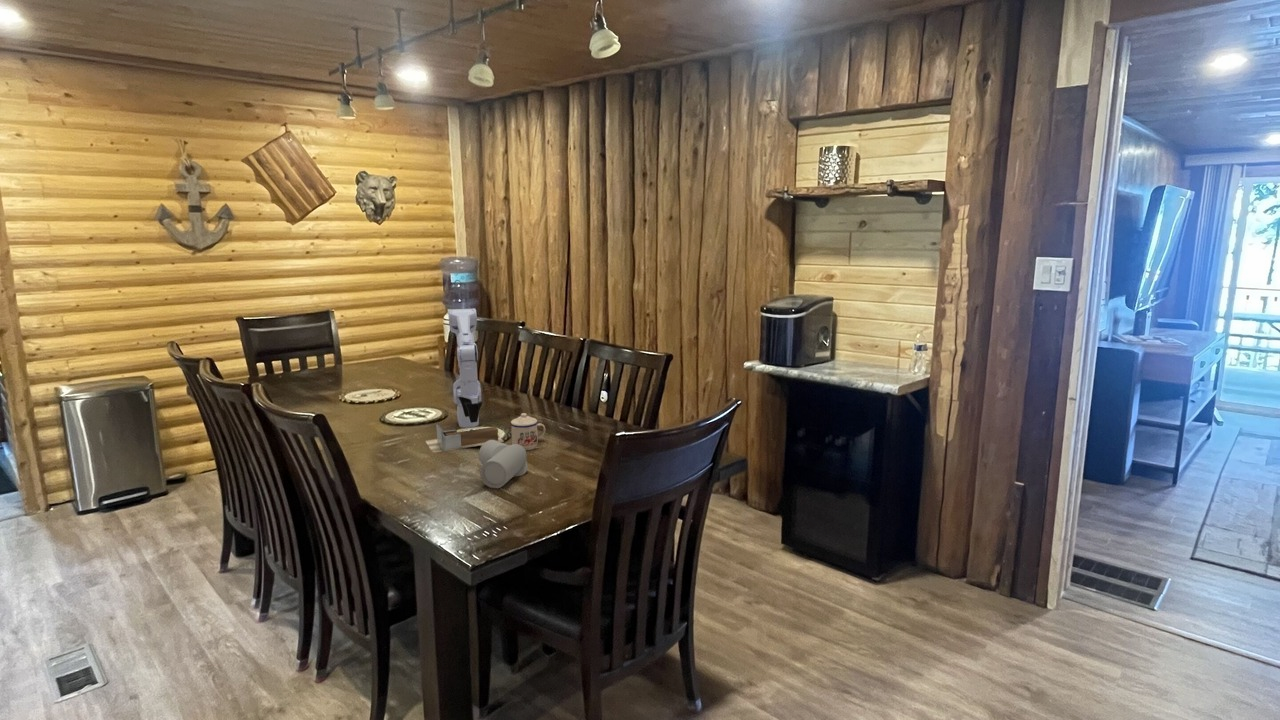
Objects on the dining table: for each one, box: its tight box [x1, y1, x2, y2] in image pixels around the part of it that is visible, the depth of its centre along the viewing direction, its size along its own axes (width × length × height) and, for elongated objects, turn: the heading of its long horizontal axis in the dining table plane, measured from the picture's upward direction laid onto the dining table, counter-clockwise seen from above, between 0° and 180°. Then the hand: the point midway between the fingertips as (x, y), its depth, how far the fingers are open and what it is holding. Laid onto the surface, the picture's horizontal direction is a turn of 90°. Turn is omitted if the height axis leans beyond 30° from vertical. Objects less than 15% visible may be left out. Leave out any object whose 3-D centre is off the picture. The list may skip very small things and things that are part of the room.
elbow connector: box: [478, 440, 528, 489], centre depth 209 cm, size 18×11×20 cm
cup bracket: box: [435, 424, 462, 452], centre depth 234 cm, size 8×6×7 cm
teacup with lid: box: [510, 412, 546, 451], centre depth 236 cm, size 12×9×12 cm
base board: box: [424, 435, 505, 454], centre depth 240 cm, size 14×24×1 cm, turn 117°
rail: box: [446, 426, 499, 446], centre depth 237 cm, size 4×17×4 cm, turn 117°
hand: (471, 419), depth 236 cm, fingers open, 7 cm apart
